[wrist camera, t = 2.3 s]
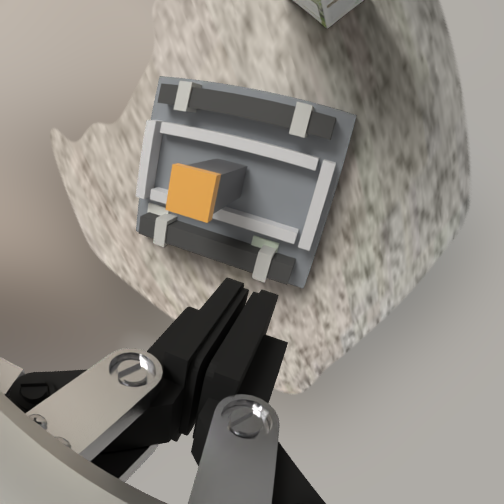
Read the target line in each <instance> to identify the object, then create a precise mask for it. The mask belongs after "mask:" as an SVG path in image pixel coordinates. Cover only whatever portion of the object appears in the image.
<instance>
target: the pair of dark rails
mask: <svg viewBox="0 0 504 504" xmlns="http://www.w3.org/2000/svg"><path fill="white" fill-rule="evenodd" d="M157 103H163V104H171V105H174V110H179V111H186V112H195V113H196V110H197V109H202V110H208V111H213V112H218V113H224V114H229V115H234V116H238V117H243V118H248V119H252V120H257V121H261V122H265V123H270V124H274V125H278V126H282V127H286V128H290V131H289V134H292V135H296V136H300V137H303V138H307V136H308V134H312V135H315V136H319V137H322V138H326V139H329V140H331V137H332V133H333V129H334V126H335V122H336V117H332V116H329V115H325V114H322V113H318V112H315V111H314V109H315V108H314V107H313V106H312V105H309V104H305V103H301V102H297V104H296V107H295V106H291V105H287V104H283V103H279V102H274V101H270V100H265V99H260V98H255V97H250V96H245V95H240V94H235V93H229V92H223V91H217V90H210V89H204V88H202V85H200V84H197V83H193V82H187V81H180V82H179V85H172V84H163V83H161V87H160V92H159V97H158V102H157ZM139 234H142V235H145V236H147V237H150V238H153V239H154V240H153V244H156V245H159V246H161V247H165V246H166V245H168V244H170V245H173V246H176V247H179V248H181V249H184V250H187V251H190V252H193V253H196V254H199V255H201V256H204V257H207V258H210V259H213V260H216V261H219V262H222V263H225V264H228V265H230V266H233V267H236V268H239V269H242V270H245V271H248V272H251V273H253V275H252V278H253V279H256V280H259V281H262V282H264V283H265V281H266V279H267V278H269V279H272V280H275V281H278V282H281V283H284V284H288V281H289V278H290V276H291V273H292V270H293V266H294V263H295V260H296V259H295V258H292V257H289V256H286V255H283V254H280V253H275V252H276V249H275V248H272V247H269V246H266V245H263V246H262V248H259V247H256V246H253V245H251V244H249V243H246V242H243V241H240V240H237V239H234V238H231V237H228V236H225V235H222V234H219V233H215V232H212V231H209V230H206V229H203V228H200V227H197V226H194V225H191V224H187V223H184V222H181V221H178V220H177V216H175V215H172V214H166V213H165V214H163V215H161V216H160V215H157V214H154V213H150V212H148V213H146V214H144V215H142V216H140V223H139Z"/></svg>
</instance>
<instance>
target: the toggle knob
mask: <svg viewBox="0 0 504 504" xmlns="http://www.w3.org/2000/svg"><path fill="white" fill-rule="evenodd" d="M246 170H247V166H245V165H242V164H238V163H234V162H230V161H226V160H222V159H218V158H216V159H211V160H207V161H202V162H198V163H193V164H189V165H184V164H180V163H176V164H172V170H171V176H170V182H169V188H168V195H167V202H166V209H165V210H167V211H171V212H174V213H177V214H180V215H183V216H187V217H190V218H193V219H196V220H199V221H203V222H206V223H208V222H210V221H211V220H212V217H213V214H214V213H216V212H217V211H219V210H220V209H222V208H224V207H225V206H227V205H228V204H230V203H232V202H233V201H235V200H236V199H238V198H240V196H241V192H242V187H243V183H244V179H245V174H246Z"/></svg>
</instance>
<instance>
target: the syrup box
mask: <svg viewBox="0 0 504 504" xmlns="http://www.w3.org/2000/svg"><path fill="white" fill-rule="evenodd" d="M292 1H293V2H295V3H296V4H297V5H299V6H300V7H301V8H303V9H304V10H305V11H306V12H308V13H309V14H310V15H311V16H313V17H314V18H315V19H316V20H317V21H318V22H320V23H321V24H322V25H323V26H324V27H325V28H329V27H330V26H331V25H333V24H334V23H335V22H336V21H338V20H339V19H340V18H341V17H343V16H344V15H345V14H346V13H348V12H349V11H350V10H352V9H353V8H354V7H356V6H357V5H358V4H360V3H361V2H362V1H364V0H292Z"/></svg>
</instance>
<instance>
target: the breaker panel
mask: <svg viewBox="0 0 504 504" xmlns="http://www.w3.org/2000/svg"><path fill="white" fill-rule="evenodd" d="M180 81H187V82H193V83H197V84H200V85H202V88H204V89H210V90H217V91H223V92H229V93H235V94H240V95H245V96H250V97H255V98H260V99H265V100H270V101H274V102H279V103H283V104H287V105H291V106H295V107H296V104H297V102H301V103H305V104H309V105H312V106H313V107H314V108H315V109H314V111H315V112H318V113H322V114H325V115H329V116H332V117H336V122H335V126H334V129H333V133H332V137H331V140H329V139H326V138H322V137H319V136H315V135H312V134H308V136H307V138H303V137H300V136H296V135H292V134H289V131H290V128H286V127H282V126H278V125H274V124H270V123H265V122H261V121H257V120H252V119H248V118H243V117H238V116H234V115H229V114H224V113H218V112H213V111H208V110H202V109H197V110H196V113H195V112H186V111H179V110H174V105H171V104H163V103H157V102H158V97H159V92H160V87H161V83H163V84H172V85H179V82H180ZM356 116H357V115H354V114H351V113H348V112H344V111H341V110H338V109H334V108H331V107H327V106H324V105H320V104H316V103H313V102H309V101H305V100H301V99H297V98H293V97H288V96H284V95H280V94H275V93H270V92H266V91H261V90H256V89H250V88H245V87H240V86H234V85H228V84H221V83H215V82H208V81H200V80H192V79H184V78H174V77H164V76H160V78H159V82H158V87H157V91H156V96H155V101H154V106H153V111H152V117H151V120H147V122H146V127H145V133H144V139H143V146H142V152H141V159H140V166H139V174H138V181H137V190H136V197H139V205H138V215H137V226H136V231H137V232H139V223H140V216H142V215H144V214H146V213H148V212H150V213H154V214H157V215H160V216H161V215H163V214H165V213H166V214H172V215H175V216H177V220H178V221H181V222H184V223H187V224H191V225H194V226H197V227H200V228H203V229H206V230H209V231H212V232H215V233H219V234H222V235H225V236H228V237H231V238H234V239H237V240H240V241H243V242H246V243H249V244H251V245H253V246H256V247H259V248H262V246H263V245H266V246H269V247H272V248H275V249H276V252H275V253H280V254H283V255H286V256H289V257H292V258H295V259H296V260H295V263H294V266H293V270H292V273H291V276H290V278H289V281H288V284H291V285H294V286H297V287H300V288H304V286H305V283H306V280H307V277H308V274H309V271H310V268H311V265H312V262H313V259H314V256H315V253H316V250H317V247H318V244H319V241H320V238H321V235H322V232H323V229H324V226H325V223H326V219H327V216H328V213H329V210H330V207H331V203H332V200H333V197H334V194H335V190H336V187H337V184H338V180H339V177H340V173H341V170H342V167H343V163H344V160H345V156H346V153H347V149H348V145H349V142H350V138H351V135H352V131H353V127H354V123H355V120H356ZM216 158H218V159H222V160H226V161H230V162H234V163H238V164H242V165H245V166H247V170H246V174H245V179H244V183H243V187H242V192H241V196H240V198H238V199H236V200H235V201H233V202H232V203H230V204H228V205H227V206H225V207H224V208H222V209H220V210H219V211H217V212H216V213H214V214H213V217H212V220H211V221H210V222H208V223H206V222H203V221H199V220H196V219H193V218H190V217H187V216H183V215H180V214H177V213H174V212H171V211H167V210H165V209H166V202H167V195H168V188H169V182H170V176H171V170H172V164H176V163H180V164H184V165H189V164H193V163H198V162H202V161H207V160H211V159H216Z"/></svg>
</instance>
